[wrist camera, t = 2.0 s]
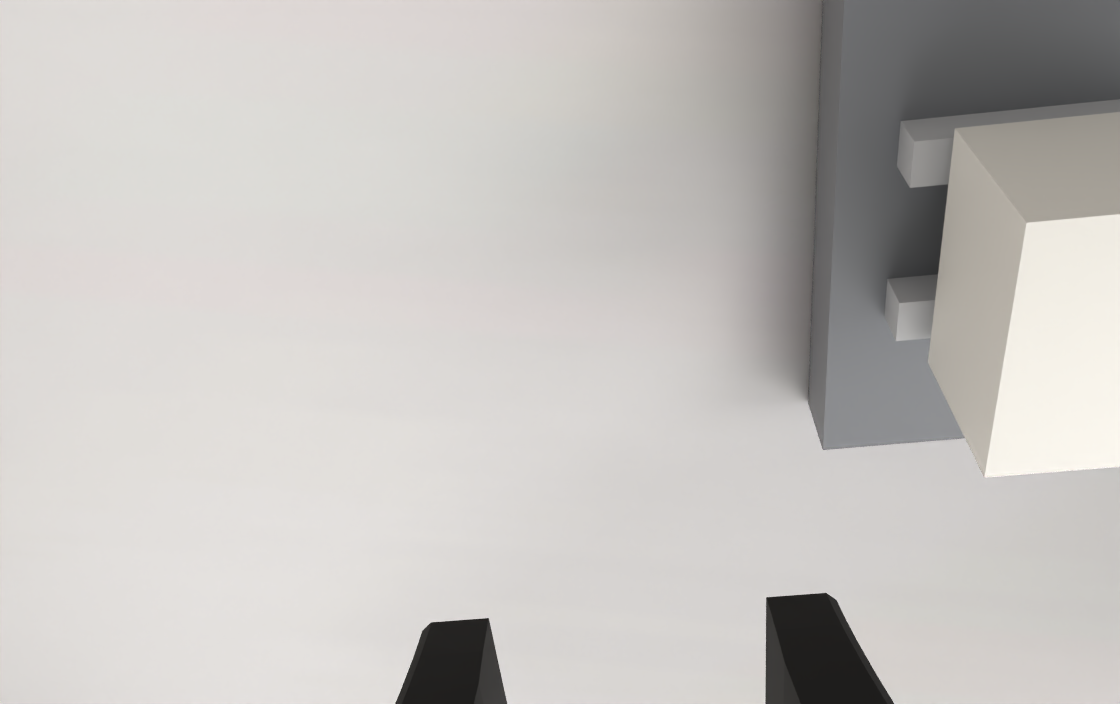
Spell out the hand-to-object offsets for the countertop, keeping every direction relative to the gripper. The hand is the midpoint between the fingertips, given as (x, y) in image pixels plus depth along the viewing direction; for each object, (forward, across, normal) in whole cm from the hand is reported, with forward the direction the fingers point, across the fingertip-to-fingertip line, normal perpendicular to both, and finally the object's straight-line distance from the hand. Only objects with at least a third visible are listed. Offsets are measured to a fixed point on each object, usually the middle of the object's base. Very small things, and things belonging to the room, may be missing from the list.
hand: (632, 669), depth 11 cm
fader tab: (+9, -7, 0) cm, 11 cm away
